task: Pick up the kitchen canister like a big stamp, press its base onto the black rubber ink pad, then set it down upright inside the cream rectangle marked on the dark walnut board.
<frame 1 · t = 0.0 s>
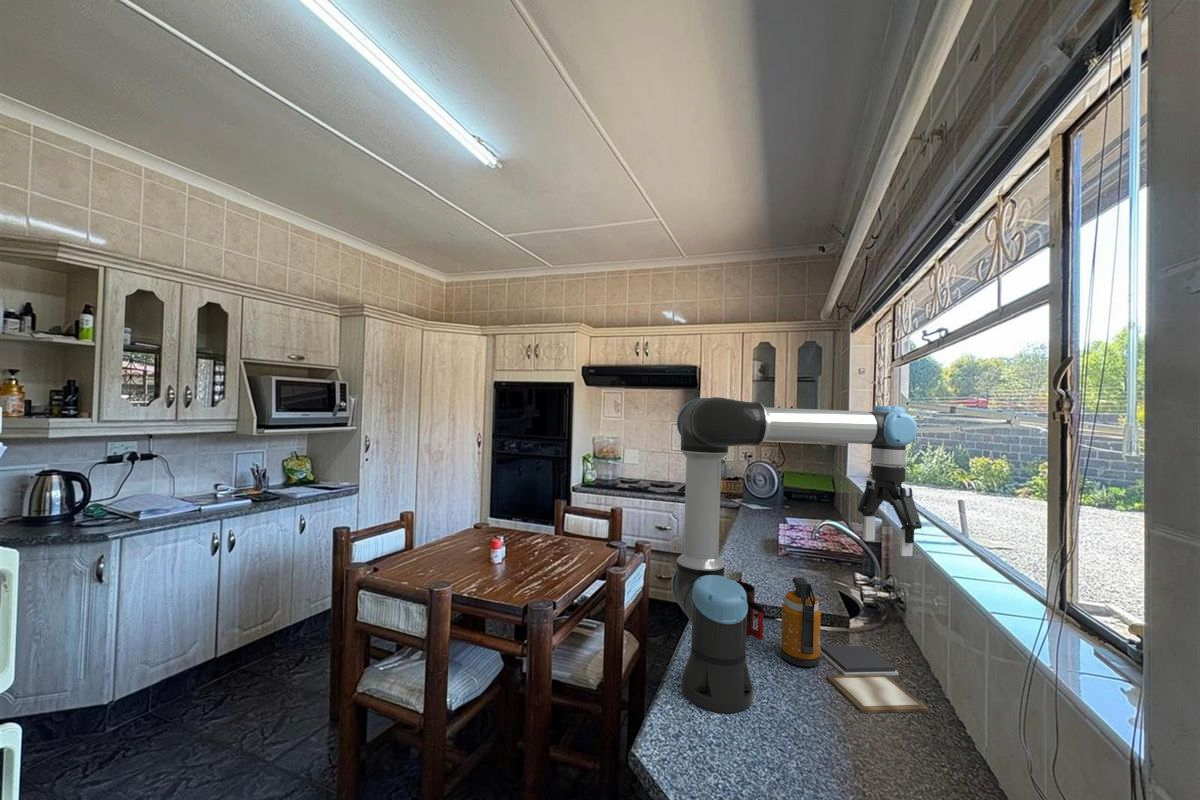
hand: (886, 547, 124), 28 cm above the countertop, fingers open, 13 cm apart
box board: (874, 694, 106), on the countertop
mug: (743, 631, 135), on the countertop
canister: (801, 662, 119), on the countertop
ink pad: (856, 663, 120), on the countertop
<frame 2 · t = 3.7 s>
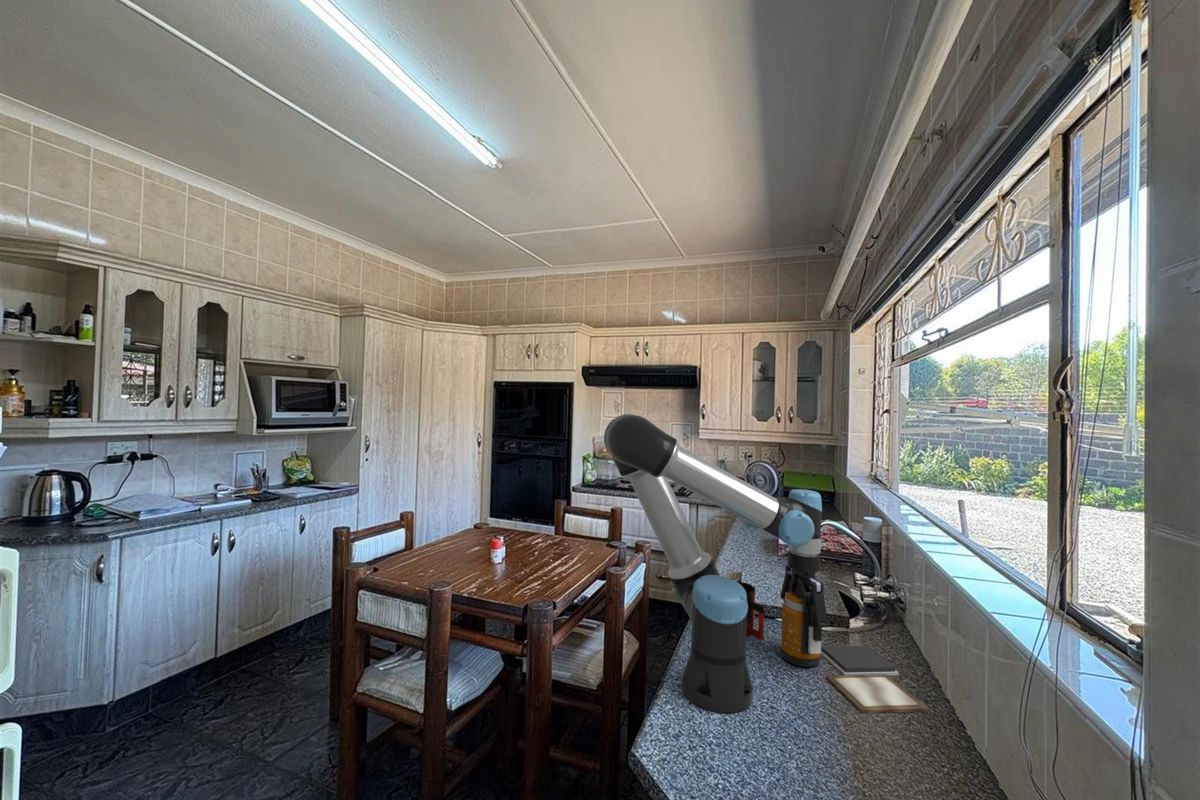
hand: (801, 641, 119), 5 cm above the countertop, fingers closed on canister, 11 cm apart
canister: (801, 662, 119), on the countertop, touching gripper
everything else where it was.
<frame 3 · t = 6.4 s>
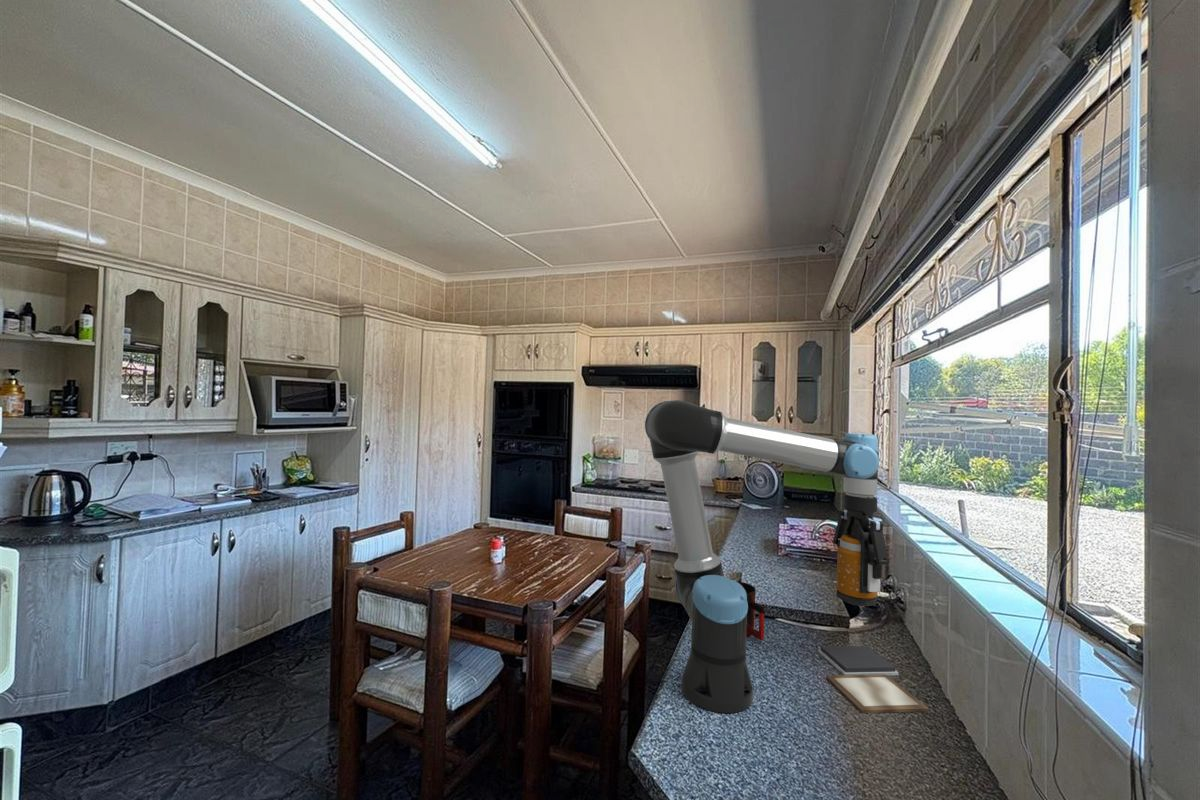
hand: (858, 582, 120), 20 cm above the countertop, fingers closed on canister, 11 cm apart
canister: (857, 603, 120), point 15 cm above the countertop, touching gripper
everything else where it was.
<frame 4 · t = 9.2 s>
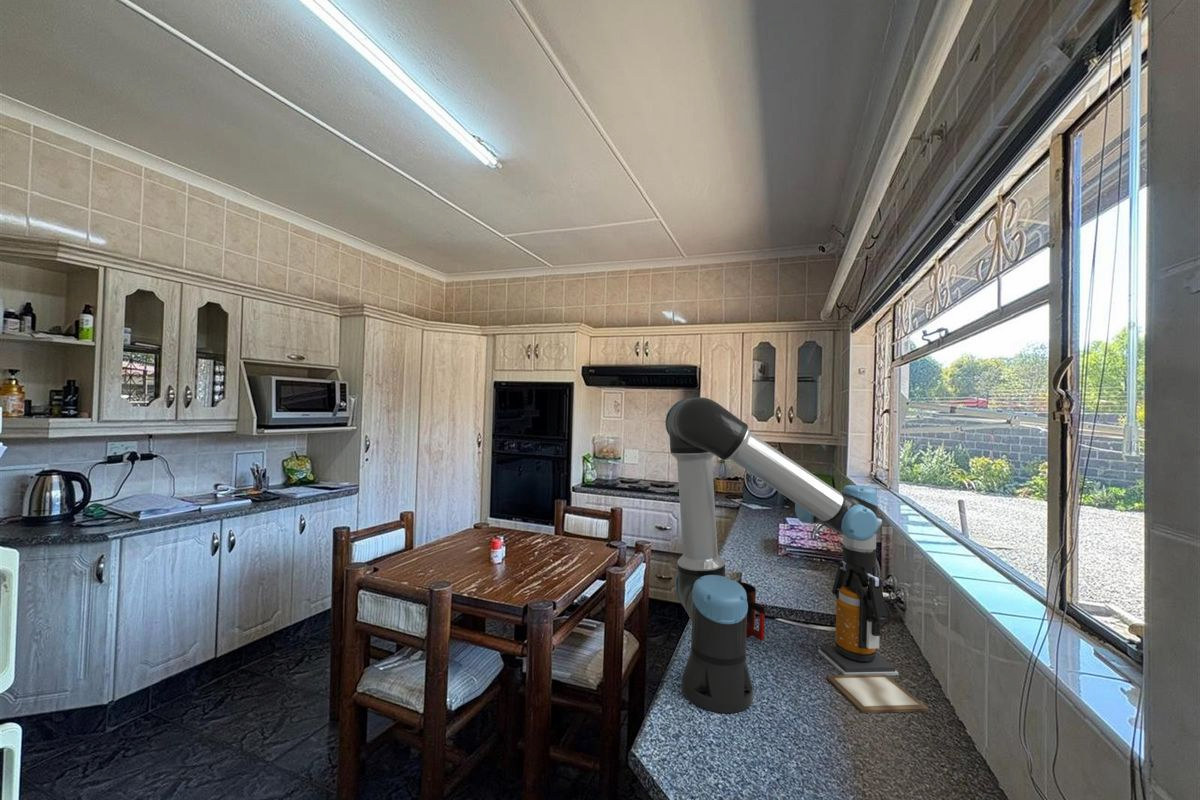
hand: (857, 636, 120), 7 cm above the countertop, fingers closed on canister, 11 cm apart
canister: (856, 657, 120), point 1 cm above the countertop, touching gripper, ink pad
everything else where it was.
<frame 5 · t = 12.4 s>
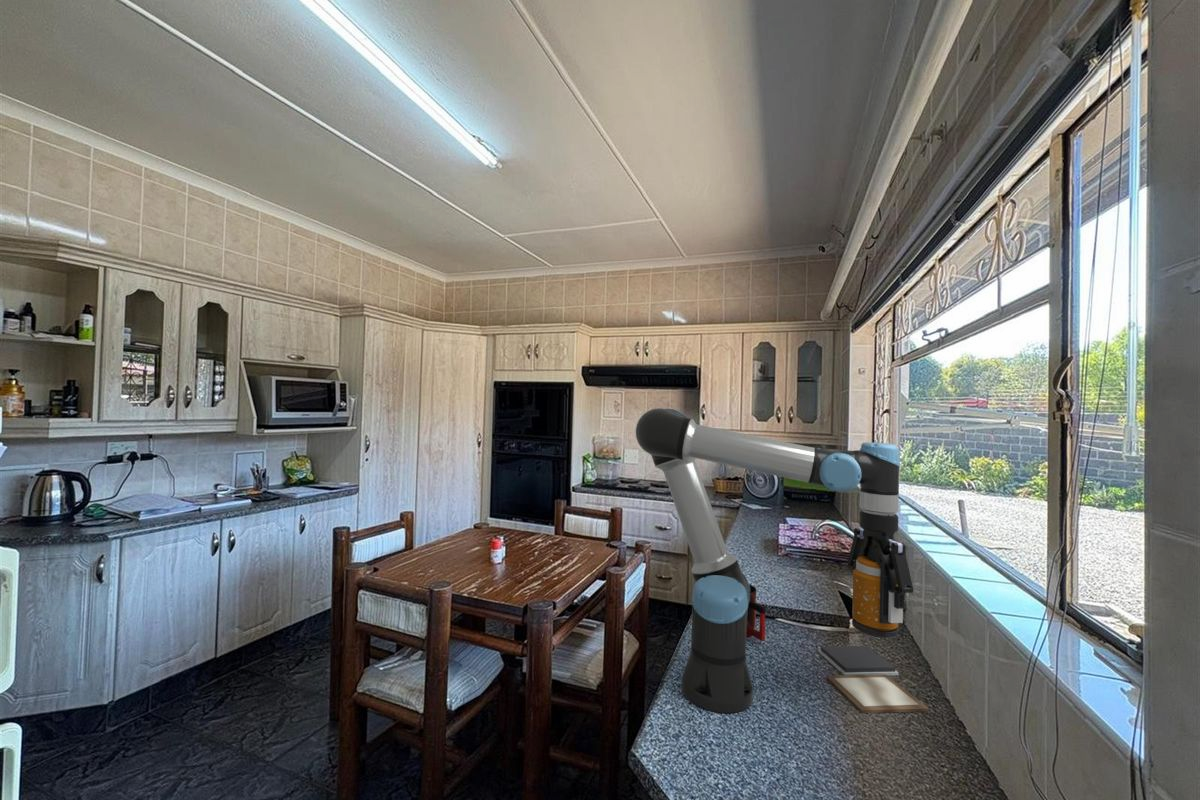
hand: (876, 610, 107), 18 cm above the countertop, fingers closed on canister, 11 cm apart
canister: (876, 634, 106), point 13 cm above the countertop, touching gripper
everything else where it was.
when the fingers open (7 cm above the countertop, at t = 14.9 s): canister drops 1 cm, resting on box board.
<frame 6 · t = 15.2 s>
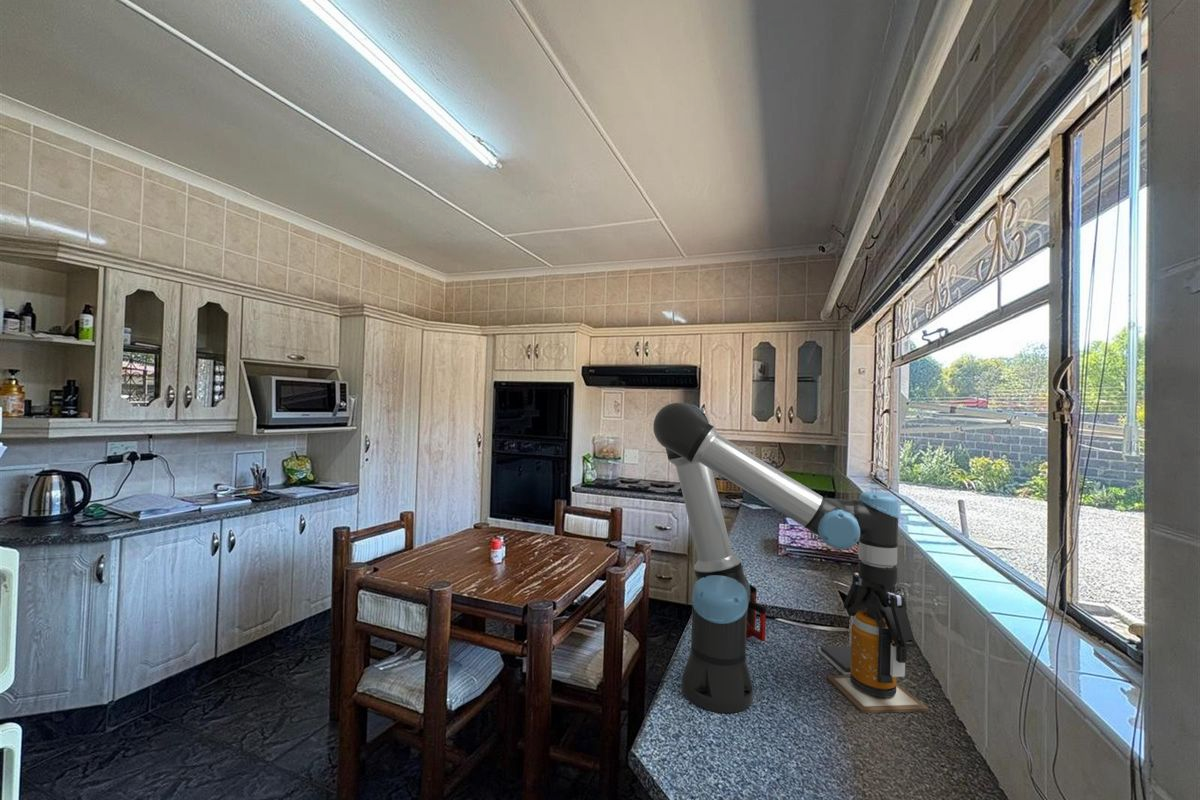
hand: (875, 659, 106), 8 cm above the countertop, fingers open, 13 cm apart
canister: (874, 691, 106), point 1 cm above the countertop, touching box board
everything else where it was.
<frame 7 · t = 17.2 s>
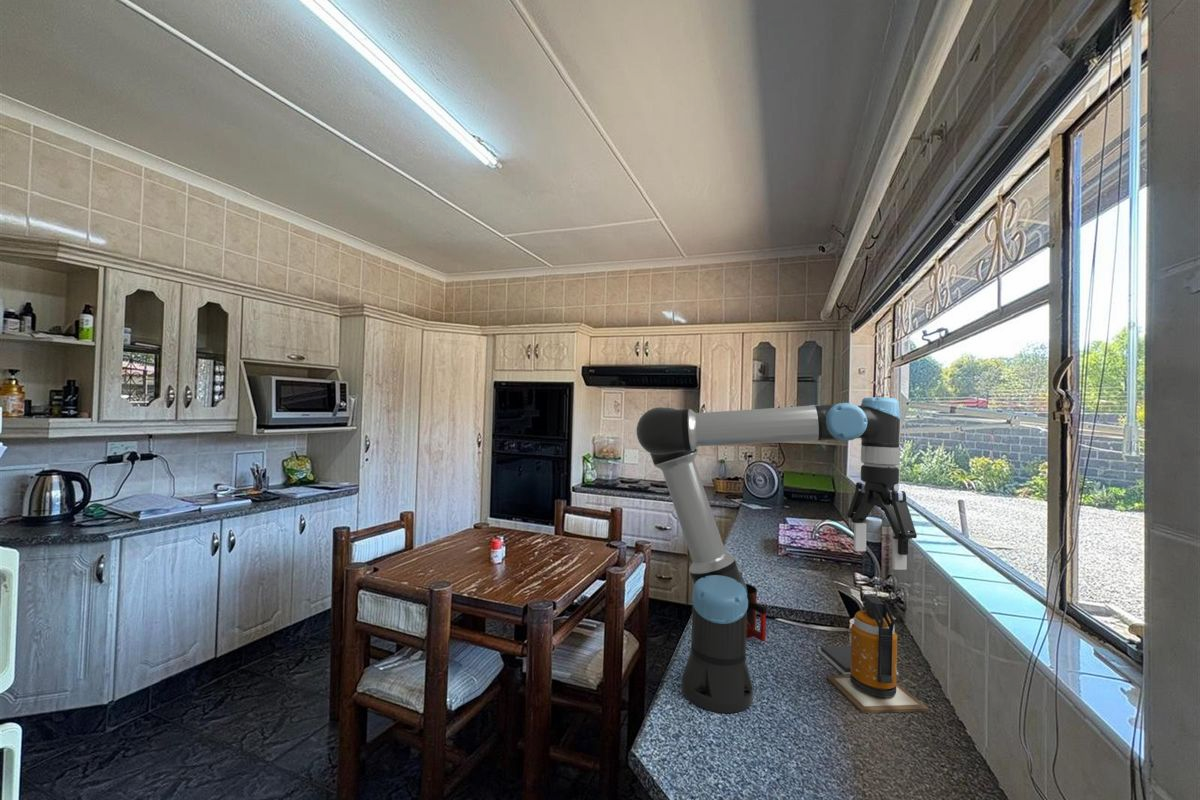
hand: (878, 559, 108), 29 cm above the countertop, fingers open, 13 cm apart
nothing on the countertop moved.
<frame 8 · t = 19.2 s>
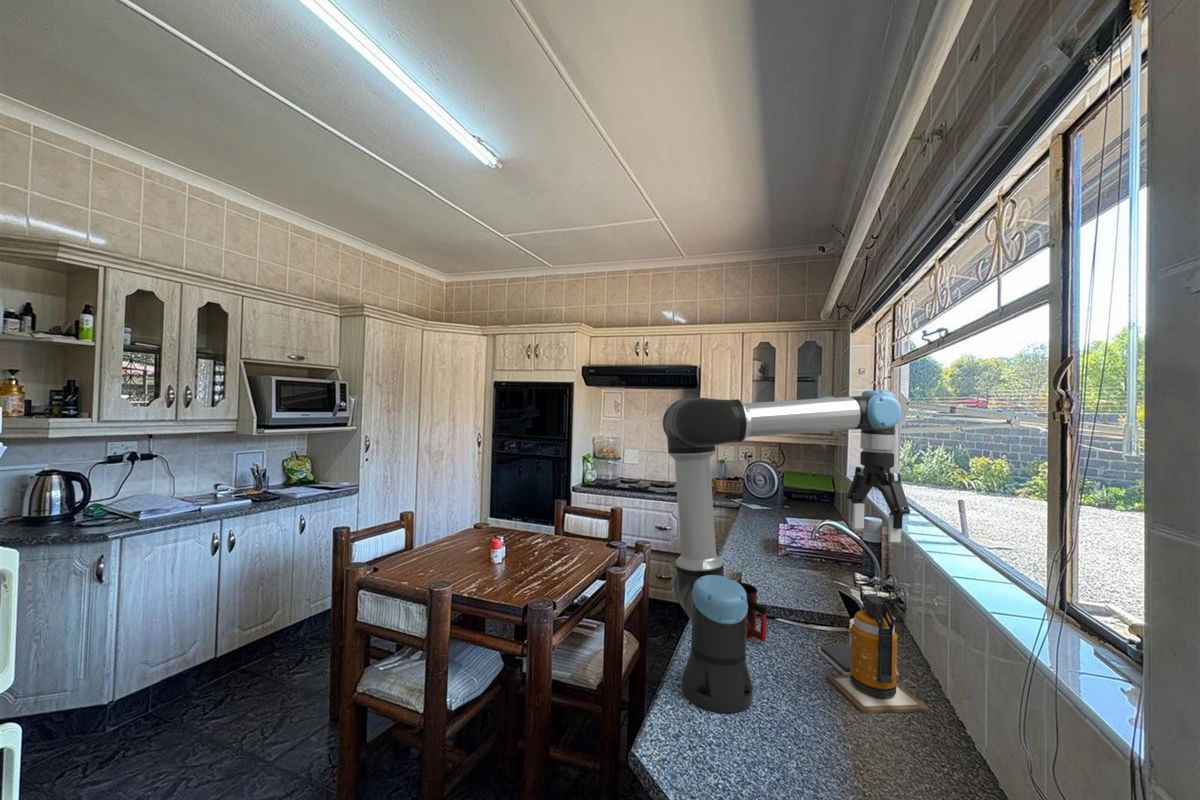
hand: (875, 534, 122), 32 cm above the countertop, fingers open, 13 cm apart
at the end: canister inside the target area on the box board (0.0 cm from its centre), point 0.5 cm above the box board's base; canister tilted 0°; the gripper is holding nothing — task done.
